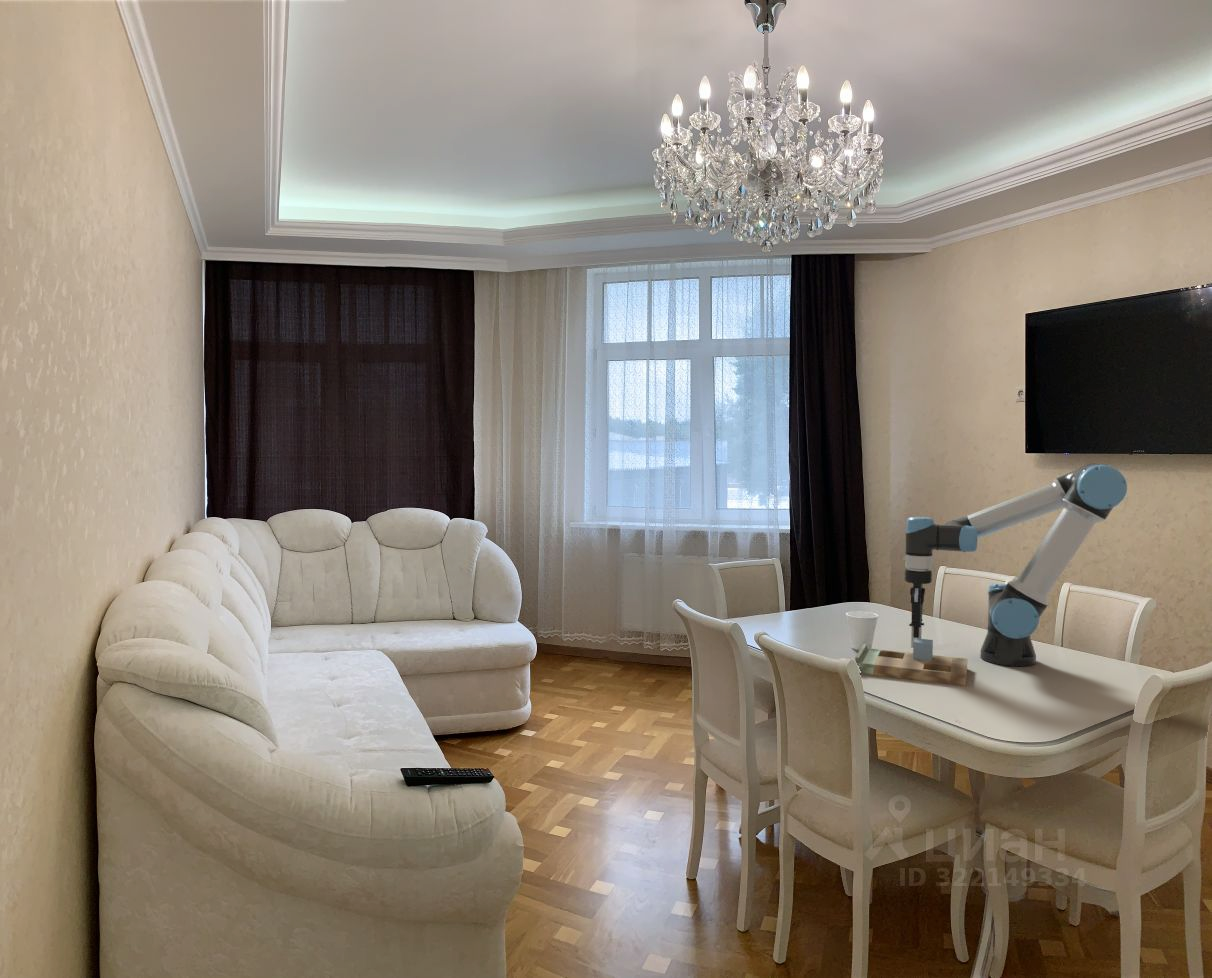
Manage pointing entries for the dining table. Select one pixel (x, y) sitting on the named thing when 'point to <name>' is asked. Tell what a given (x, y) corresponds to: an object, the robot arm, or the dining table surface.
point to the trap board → (911, 666)
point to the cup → (861, 628)
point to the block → (922, 649)
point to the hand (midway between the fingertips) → (916, 647)
